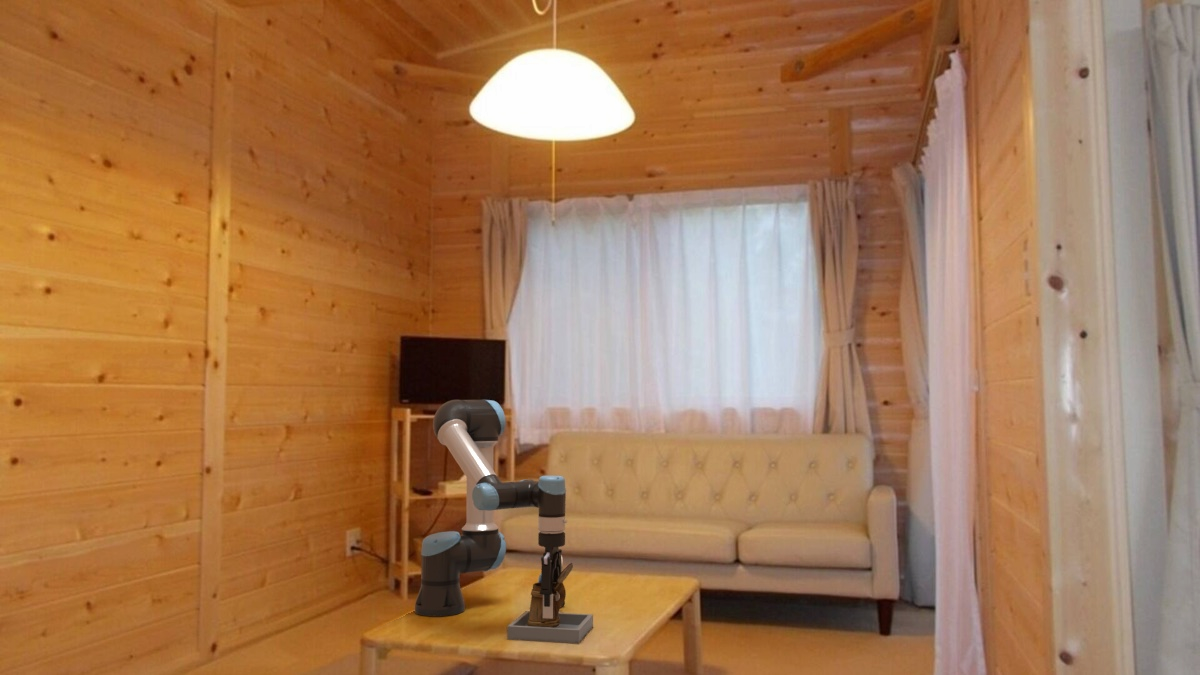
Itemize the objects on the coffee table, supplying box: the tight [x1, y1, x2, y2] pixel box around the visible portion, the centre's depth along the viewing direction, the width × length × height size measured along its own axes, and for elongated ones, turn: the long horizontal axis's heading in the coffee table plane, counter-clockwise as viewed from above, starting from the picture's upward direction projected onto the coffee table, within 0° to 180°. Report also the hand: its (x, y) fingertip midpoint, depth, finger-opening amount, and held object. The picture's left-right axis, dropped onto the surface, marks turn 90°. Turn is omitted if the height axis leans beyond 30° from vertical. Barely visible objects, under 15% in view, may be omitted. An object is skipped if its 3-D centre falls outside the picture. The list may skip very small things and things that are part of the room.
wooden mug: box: [527, 562, 574, 628], centre depth 249 cm, size 9×14×18 cm, turn 66°
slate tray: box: [506, 610, 594, 645], centre depth 249 cm, size 20×18×4 cm
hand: (551, 614), depth 249 cm, fingers closed on wooden mug, 7 cm apart
